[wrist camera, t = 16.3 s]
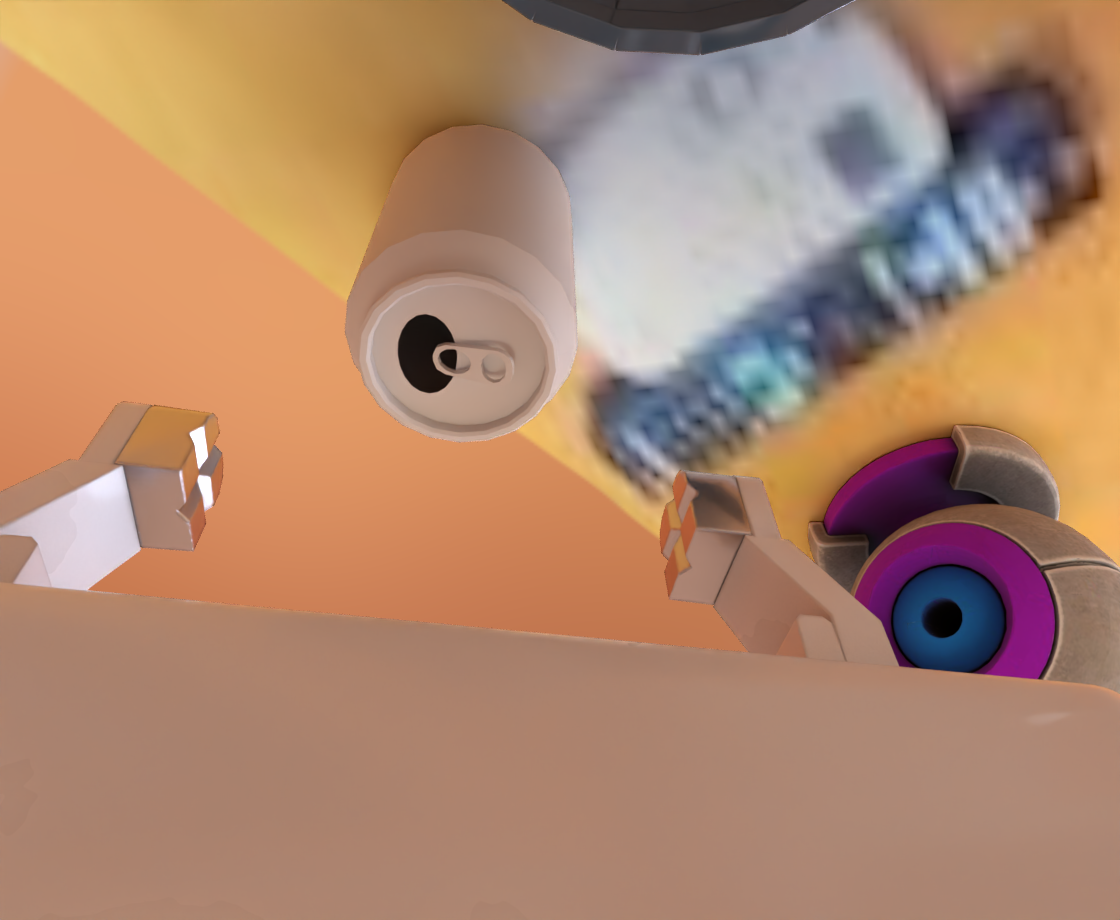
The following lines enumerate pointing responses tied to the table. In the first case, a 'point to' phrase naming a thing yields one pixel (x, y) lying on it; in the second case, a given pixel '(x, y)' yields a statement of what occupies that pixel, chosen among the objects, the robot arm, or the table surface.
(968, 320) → the table surface
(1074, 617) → the webcam
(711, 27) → the bowl
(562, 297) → the can
